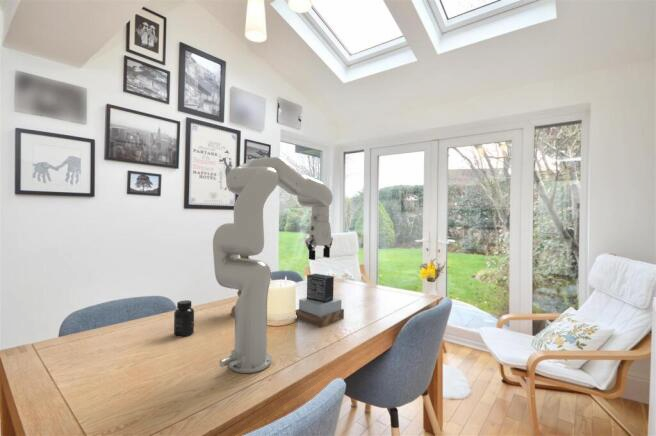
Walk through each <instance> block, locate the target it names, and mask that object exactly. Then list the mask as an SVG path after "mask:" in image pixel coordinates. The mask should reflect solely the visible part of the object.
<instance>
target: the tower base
mask: <svg viewBox="0 0 656 436" xmlns="http://www.w3.org/2000/svg"><path fill="white" fill-rule="evenodd" d="M295 312H296V315H297V319H296V320H298V321H300V322H305V323H308V324H310V325H314V326H316V327H319V328H324V327H326V326H328V325H330V324H333V323H335V322H337V321H340V320H342V319H344V318H345V316H344V315H345V309H344V308H341V310H340V311H337V312H334V313H331V314H328V315H325V316H322V317H319V316H316V315H313V314H310V313H307V312H304V311H301V310H299V308H298V309H296V310H295Z"/></svg>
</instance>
